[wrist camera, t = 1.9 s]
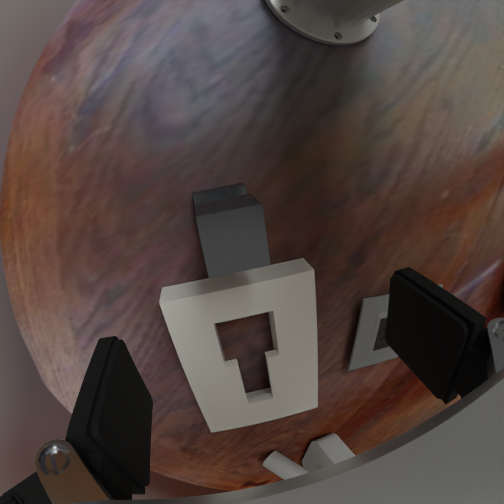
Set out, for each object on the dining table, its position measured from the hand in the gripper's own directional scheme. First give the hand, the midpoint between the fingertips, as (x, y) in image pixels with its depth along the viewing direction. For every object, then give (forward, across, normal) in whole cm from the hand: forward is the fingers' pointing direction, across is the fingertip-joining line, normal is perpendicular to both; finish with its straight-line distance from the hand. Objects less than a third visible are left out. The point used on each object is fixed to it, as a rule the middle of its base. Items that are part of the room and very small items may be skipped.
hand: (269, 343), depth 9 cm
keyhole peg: (+18, 0, -1) cm, 18 cm away
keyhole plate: (+18, 0, +15) cm, 24 cm away
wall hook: (+19, -5, +41) cm, 46 cm away
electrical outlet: (+19, -19, +17) cm, 32 cm away
